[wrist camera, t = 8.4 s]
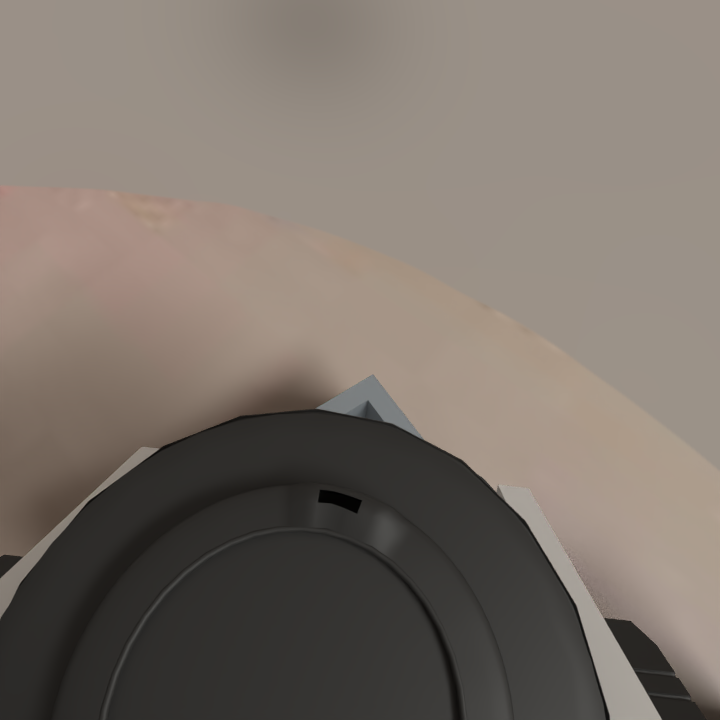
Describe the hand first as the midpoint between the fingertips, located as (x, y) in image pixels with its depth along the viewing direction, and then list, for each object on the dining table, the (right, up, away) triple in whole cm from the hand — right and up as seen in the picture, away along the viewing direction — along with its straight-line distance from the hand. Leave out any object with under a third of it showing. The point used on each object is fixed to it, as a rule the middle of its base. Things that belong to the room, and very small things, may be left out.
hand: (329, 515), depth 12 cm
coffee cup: (0, -5, +2) cm, 5 cm away
